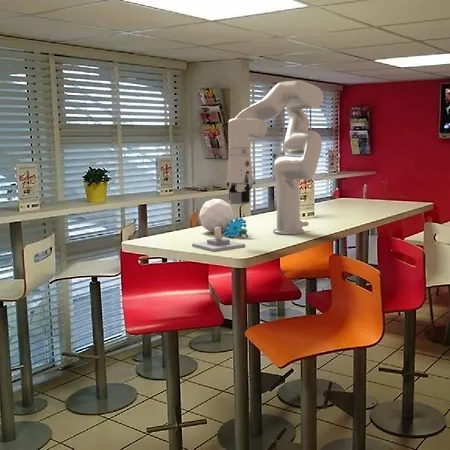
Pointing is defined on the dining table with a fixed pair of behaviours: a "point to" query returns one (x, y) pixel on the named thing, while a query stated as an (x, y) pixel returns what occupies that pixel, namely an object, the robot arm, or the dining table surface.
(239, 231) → the gear
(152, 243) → the dining table surface
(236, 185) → the robot arm
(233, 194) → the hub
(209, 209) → the geometric sphere
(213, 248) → the shaft stand
